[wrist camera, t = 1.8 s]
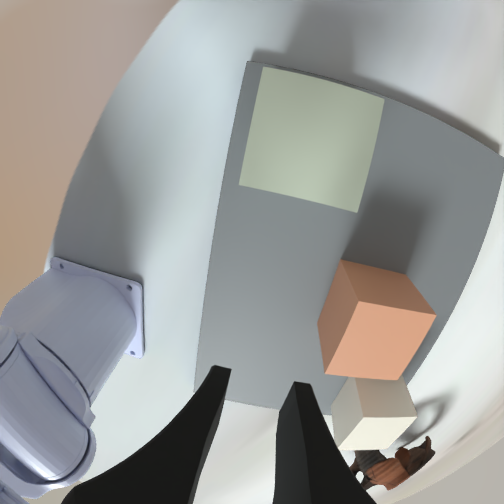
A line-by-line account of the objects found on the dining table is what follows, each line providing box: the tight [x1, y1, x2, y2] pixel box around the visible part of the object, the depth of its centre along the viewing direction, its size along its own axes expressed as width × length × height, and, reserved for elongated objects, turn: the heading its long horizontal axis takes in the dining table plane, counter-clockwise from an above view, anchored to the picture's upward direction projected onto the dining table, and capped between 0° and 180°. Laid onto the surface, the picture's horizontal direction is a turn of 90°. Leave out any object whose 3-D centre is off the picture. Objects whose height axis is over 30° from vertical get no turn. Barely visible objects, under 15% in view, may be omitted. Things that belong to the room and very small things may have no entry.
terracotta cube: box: [317, 259, 437, 380], centre depth 16 cm, size 5×5×5 cm
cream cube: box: [331, 374, 418, 450], centre depth 19 cm, size 5×5×5 cm
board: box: [194, 61, 504, 415], centre depth 19 cm, size 19×26×1 cm
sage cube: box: [239, 67, 385, 213], centre depth 13 cm, size 5×5×5 cm
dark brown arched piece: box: [349, 436, 435, 490], centre depth 25 cm, size 12×10×8 cm
